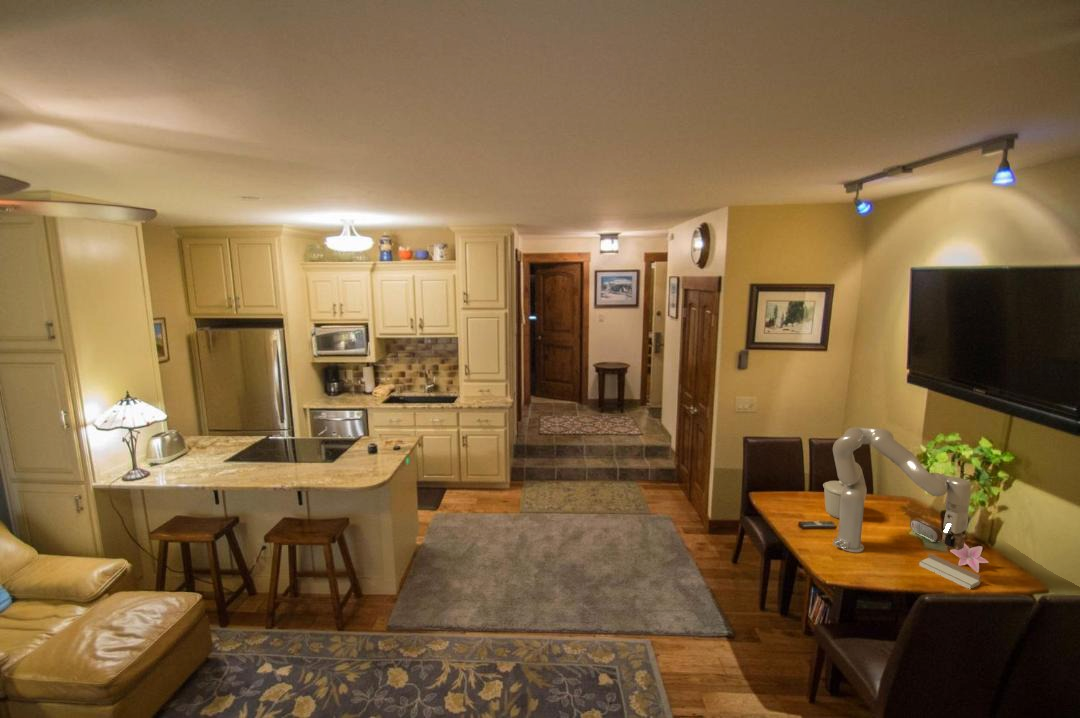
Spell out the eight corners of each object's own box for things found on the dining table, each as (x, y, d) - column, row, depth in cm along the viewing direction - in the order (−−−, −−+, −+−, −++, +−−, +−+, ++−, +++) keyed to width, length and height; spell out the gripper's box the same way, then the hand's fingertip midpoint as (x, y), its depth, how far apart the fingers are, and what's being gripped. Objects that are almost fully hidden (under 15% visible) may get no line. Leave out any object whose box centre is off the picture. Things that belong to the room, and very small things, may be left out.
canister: (866, 518, 257) (869, 483, 253) (843, 525, 250) (847, 489, 247) (835, 504, 273) (837, 471, 270) (813, 511, 267) (816, 477, 263)
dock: (969, 589, 197) (971, 581, 197) (919, 565, 215) (920, 557, 214) (979, 584, 201) (981, 576, 200) (929, 560, 218) (930, 553, 217)
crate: (958, 550, 201) (959, 537, 200) (941, 543, 207) (942, 531, 206) (963, 547, 203) (965, 535, 202) (947, 541, 208) (948, 528, 207)
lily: (944, 559, 221) (947, 547, 216) (964, 547, 222) (967, 536, 217) (971, 580, 211) (975, 568, 206) (992, 568, 211) (996, 556, 206)
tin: (942, 545, 230) (944, 529, 229) (937, 545, 230) (939, 530, 228) (912, 529, 245) (914, 515, 243) (907, 530, 244) (909, 515, 243)
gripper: (956, 514, 195) (952, 553, 198) (978, 505, 202) (973, 543, 205) (935, 506, 202) (931, 544, 205) (957, 498, 209) (952, 535, 211)
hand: (952, 543), depth 205 cm, fingers closed on crate, 4 cm apart
